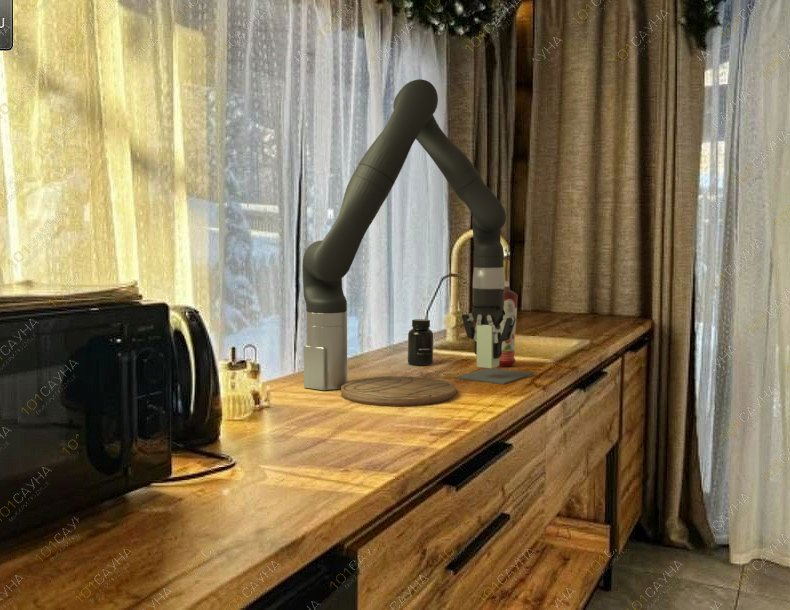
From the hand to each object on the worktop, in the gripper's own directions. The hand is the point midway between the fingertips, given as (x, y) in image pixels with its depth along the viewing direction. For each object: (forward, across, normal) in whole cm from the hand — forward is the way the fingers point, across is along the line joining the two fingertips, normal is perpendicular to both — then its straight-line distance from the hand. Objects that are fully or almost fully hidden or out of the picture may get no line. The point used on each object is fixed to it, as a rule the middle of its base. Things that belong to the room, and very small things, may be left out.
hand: (488, 357), depth 182 cm
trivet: (+6, -7, -27) cm, 29 cm away
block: (+2, 0, 0) cm, 2 cm away
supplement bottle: (+6, -25, +8) cm, 27 cm away
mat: (+5, 0, +4) cm, 7 cm away
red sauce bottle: (+6, -6, +19) cm, 21 cm away
